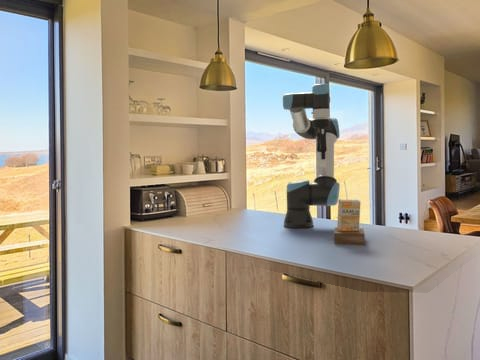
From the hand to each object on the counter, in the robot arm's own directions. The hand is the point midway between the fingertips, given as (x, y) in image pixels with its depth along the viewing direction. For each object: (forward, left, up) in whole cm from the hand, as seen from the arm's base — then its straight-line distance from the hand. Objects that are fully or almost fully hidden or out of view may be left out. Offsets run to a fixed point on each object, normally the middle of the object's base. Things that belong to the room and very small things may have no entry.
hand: (321, 166), depth 183 cm
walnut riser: (+12, +10, -32) cm, 36 cm away
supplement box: (+12, +10, -27) cm, 31 cm away
